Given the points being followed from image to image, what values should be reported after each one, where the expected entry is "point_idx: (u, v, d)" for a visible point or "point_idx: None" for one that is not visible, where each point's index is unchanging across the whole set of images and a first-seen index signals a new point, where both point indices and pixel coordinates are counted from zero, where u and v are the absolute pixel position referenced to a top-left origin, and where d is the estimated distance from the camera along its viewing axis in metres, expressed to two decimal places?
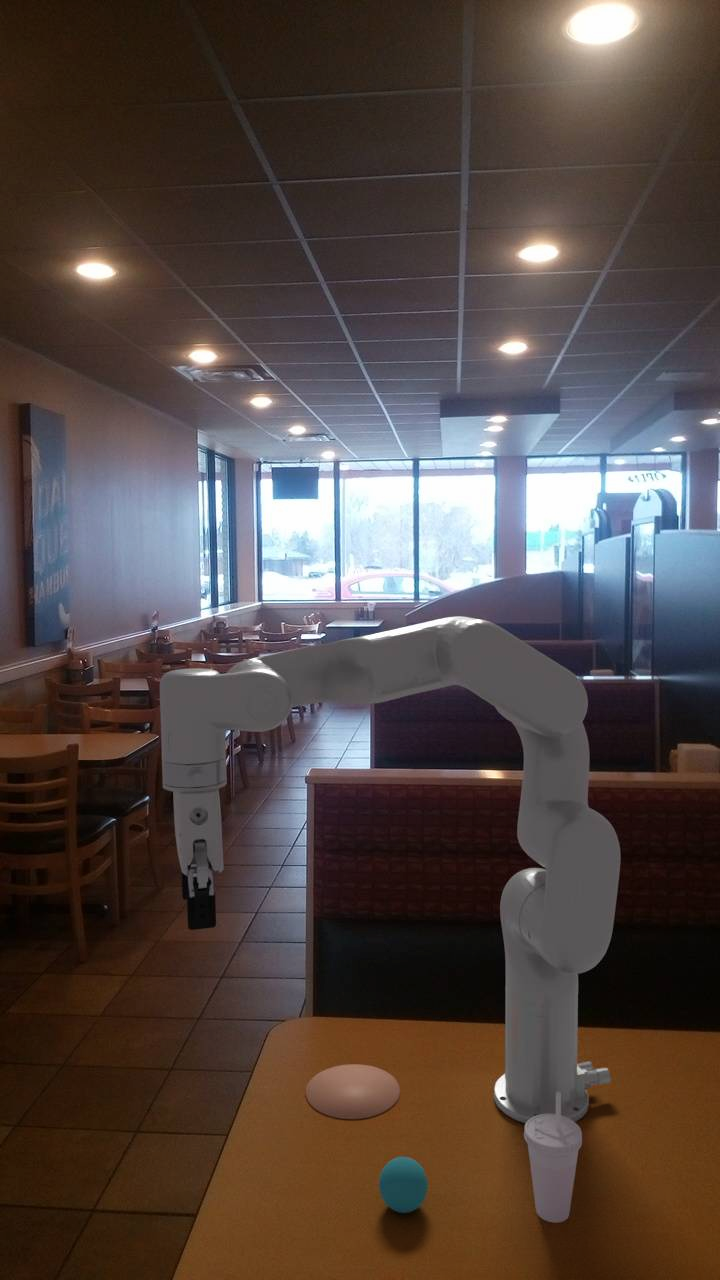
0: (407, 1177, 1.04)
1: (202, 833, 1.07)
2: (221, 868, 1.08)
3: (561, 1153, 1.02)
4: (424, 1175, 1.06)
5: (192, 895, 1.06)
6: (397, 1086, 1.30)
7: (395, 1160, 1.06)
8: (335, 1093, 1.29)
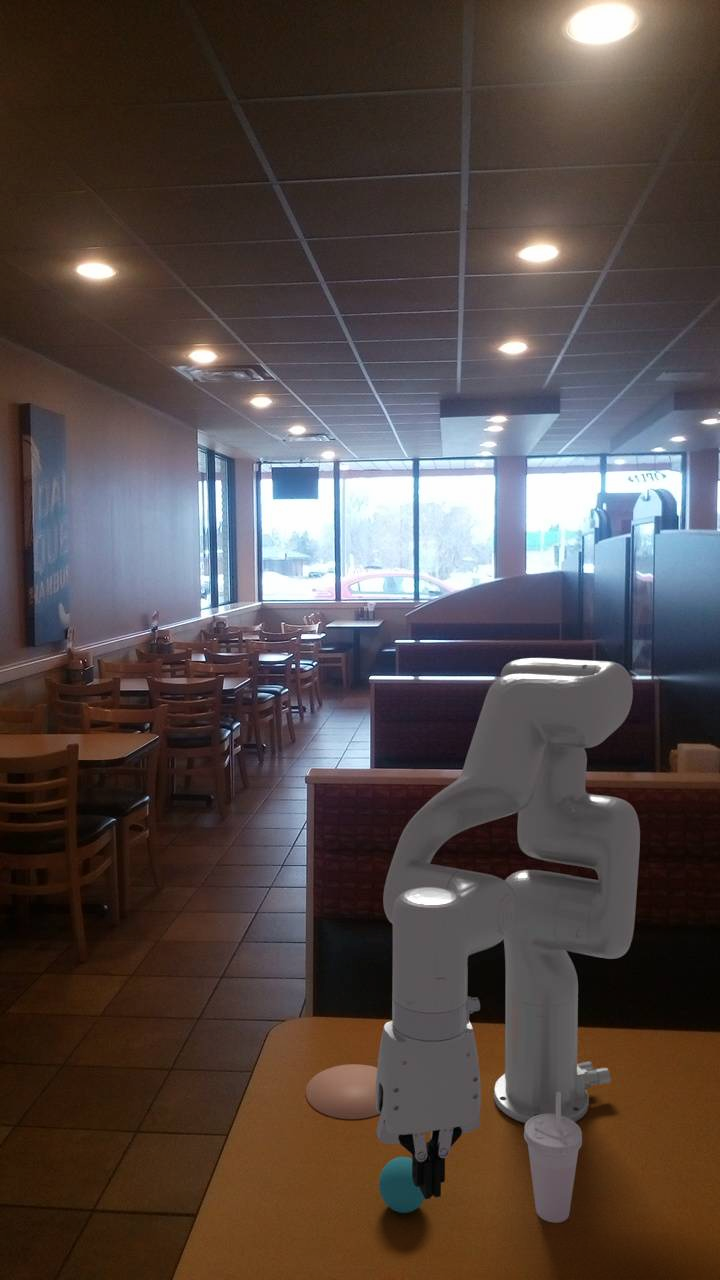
0: (407, 1177, 1.04)
1: None
2: None
3: (561, 1153, 1.02)
4: None
5: None
6: None
7: (395, 1160, 1.06)
8: (335, 1093, 1.29)
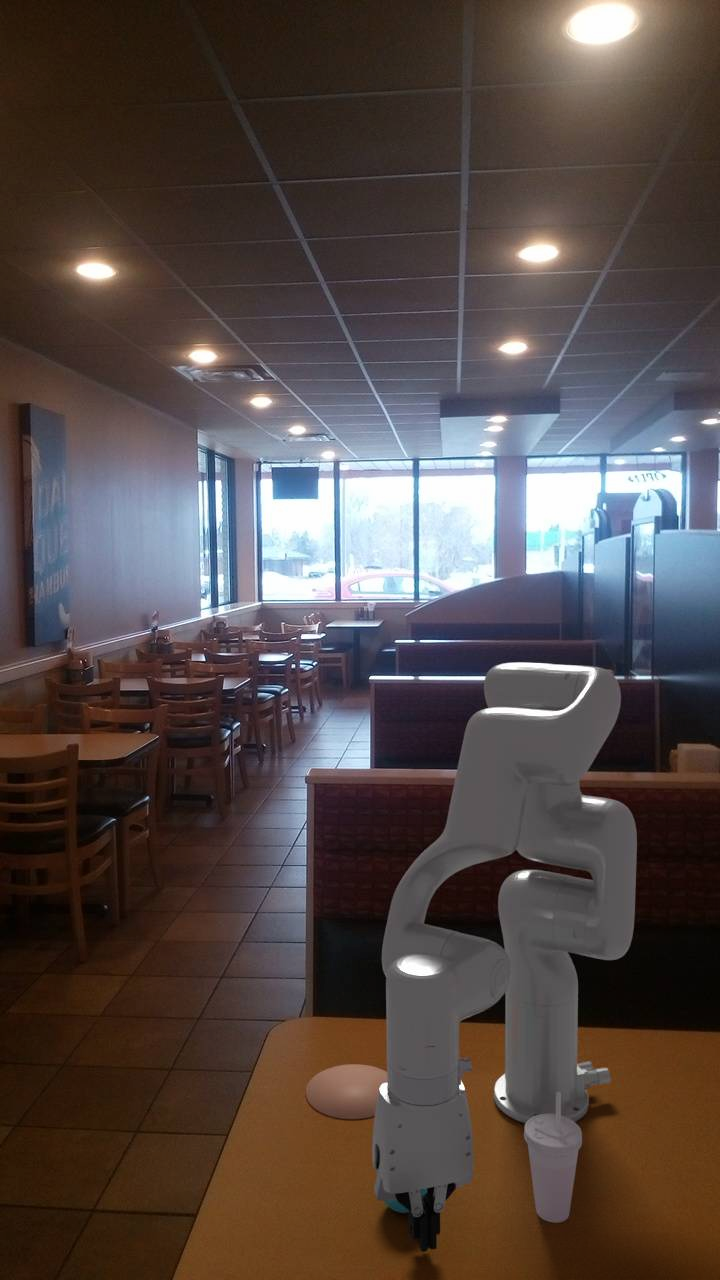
0: None
1: None
2: None
3: (561, 1153, 1.02)
4: None
5: None
6: None
7: None
8: (335, 1093, 1.29)
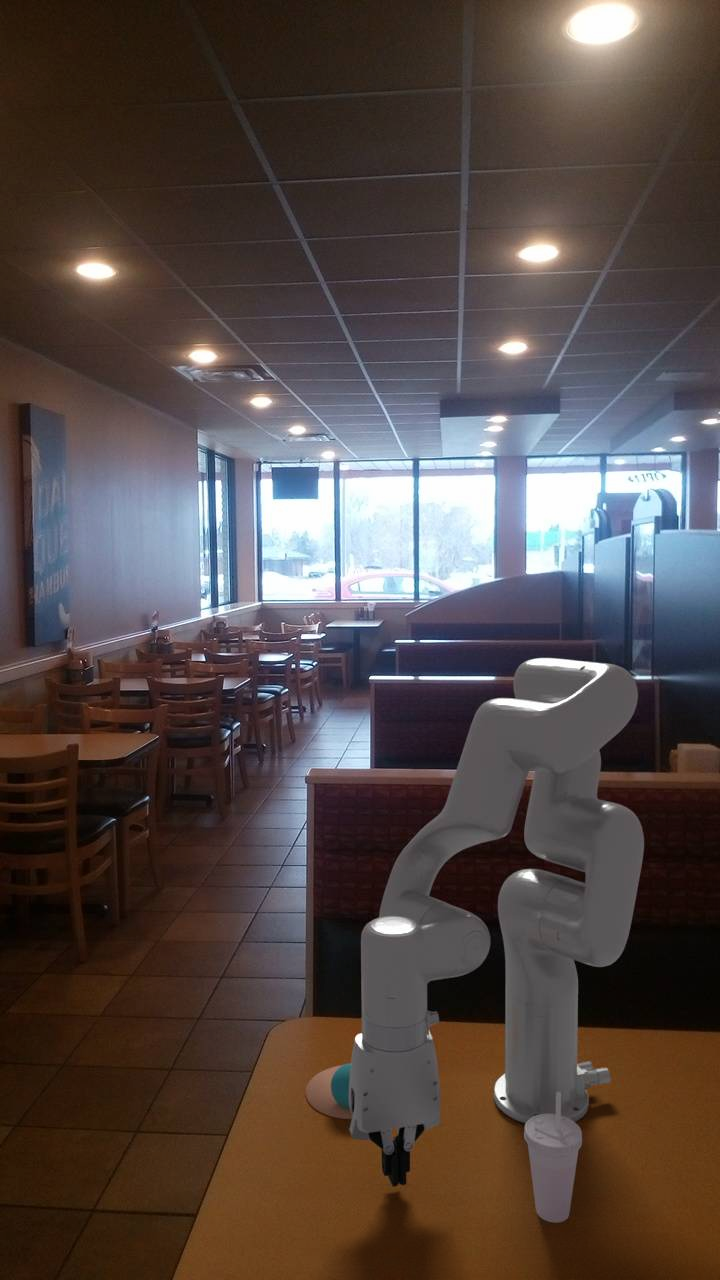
0: (347, 1064, 1.27)
1: None
2: None
3: (561, 1153, 1.02)
4: None
5: None
6: None
7: None
8: None
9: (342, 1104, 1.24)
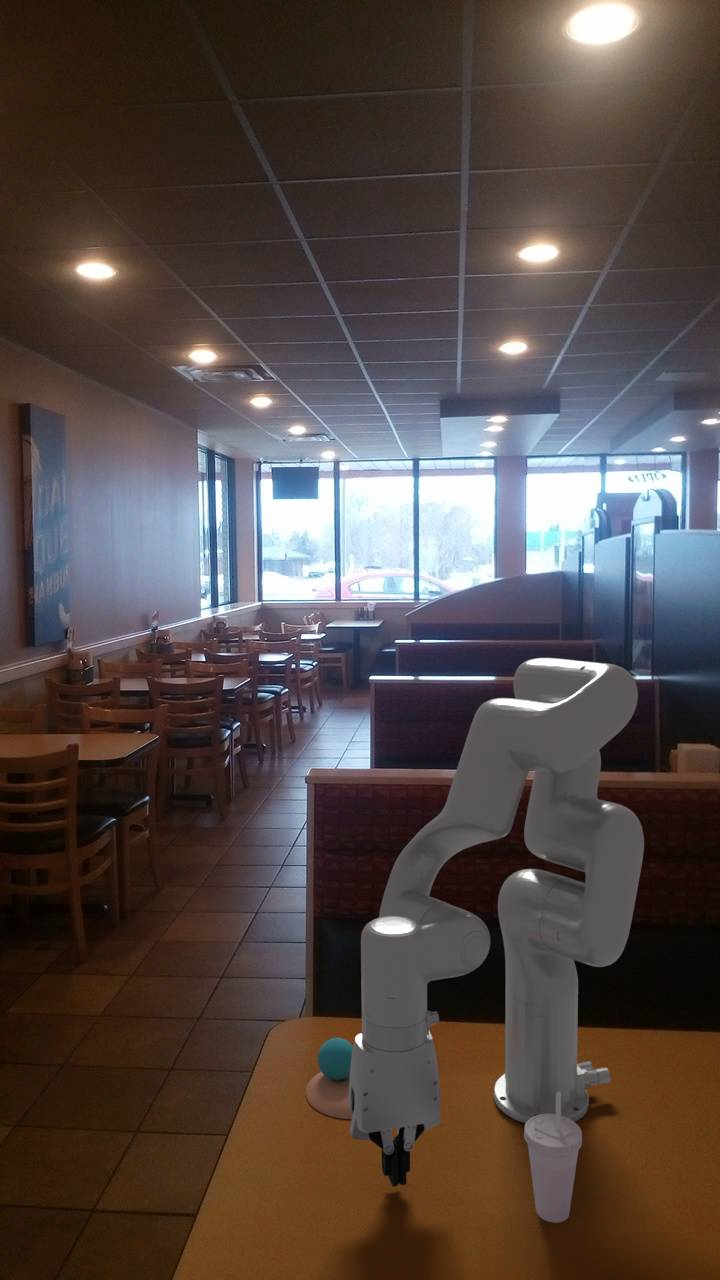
0: None
1: None
2: None
3: (561, 1153, 1.02)
4: None
5: None
6: None
7: (336, 1079, 1.31)
8: (335, 1093, 1.29)
9: (324, 1044, 1.33)
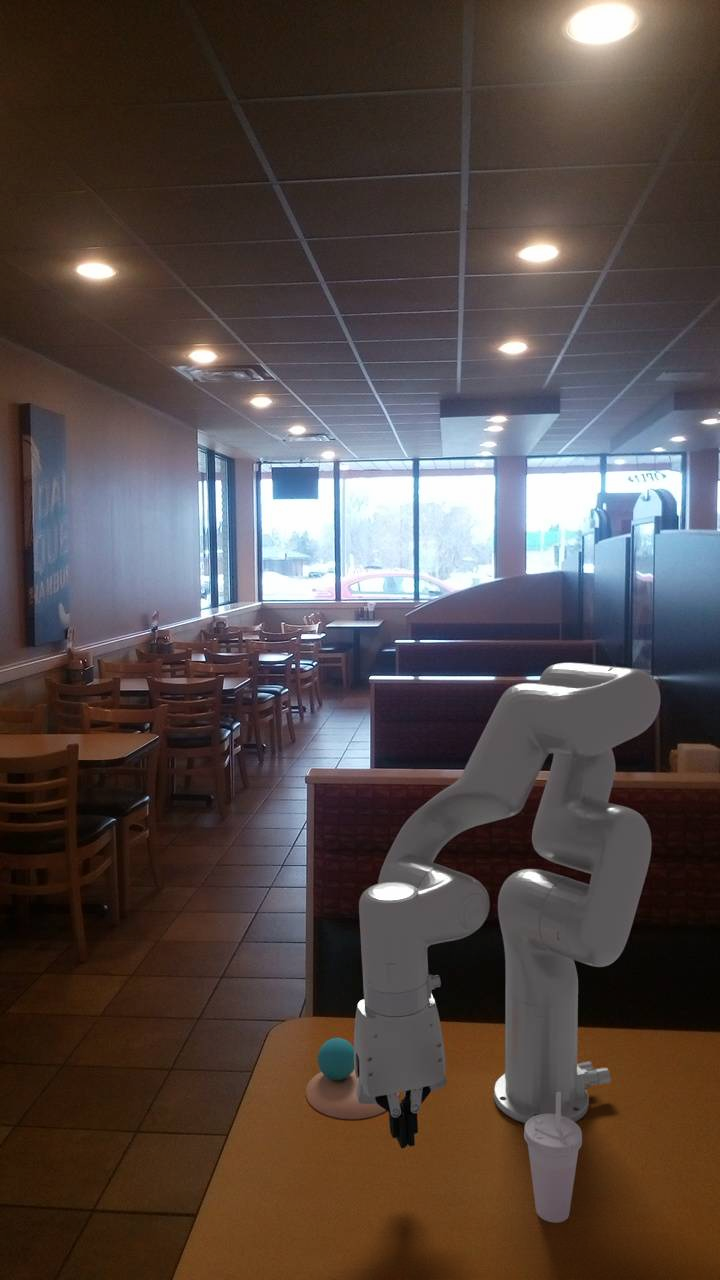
0: None
1: None
2: None
3: (561, 1153, 1.02)
4: None
5: None
6: None
7: (336, 1079, 1.31)
8: (335, 1093, 1.29)
9: (324, 1044, 1.33)
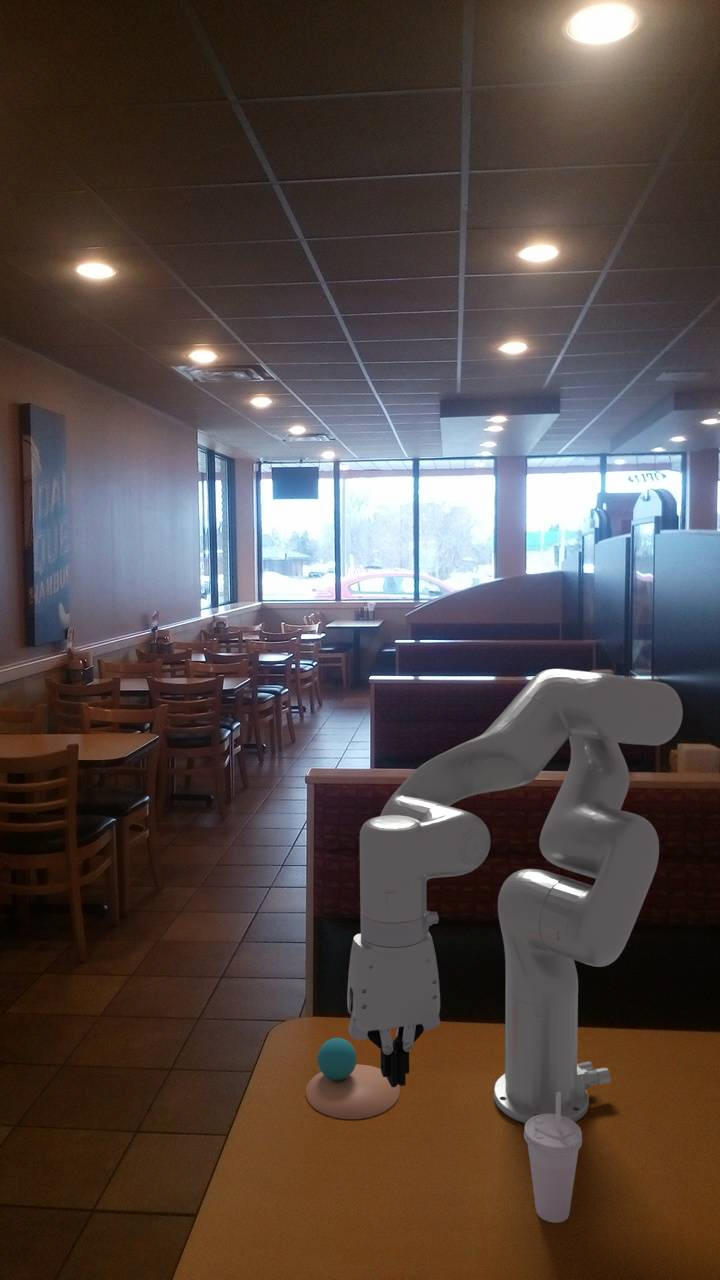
0: None
1: None
2: None
3: (561, 1153, 1.02)
4: None
5: None
6: (397, 1086, 1.30)
7: (336, 1079, 1.31)
8: (335, 1093, 1.29)
9: (324, 1044, 1.33)
